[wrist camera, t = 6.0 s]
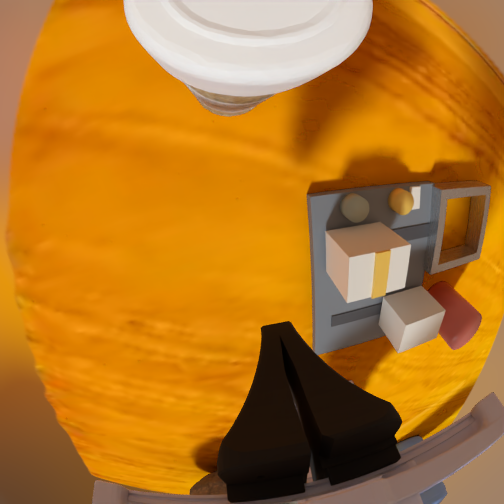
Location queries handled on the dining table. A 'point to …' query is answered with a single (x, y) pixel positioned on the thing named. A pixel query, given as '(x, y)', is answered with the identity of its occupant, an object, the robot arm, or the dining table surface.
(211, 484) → the bowl
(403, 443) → the water jug
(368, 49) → the dining table surface
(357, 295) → the toggle
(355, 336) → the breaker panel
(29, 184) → the dining table surface
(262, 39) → the sprinkles bottle
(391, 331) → the toggle
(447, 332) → the cap
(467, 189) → the frame
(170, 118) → the dining table surface
